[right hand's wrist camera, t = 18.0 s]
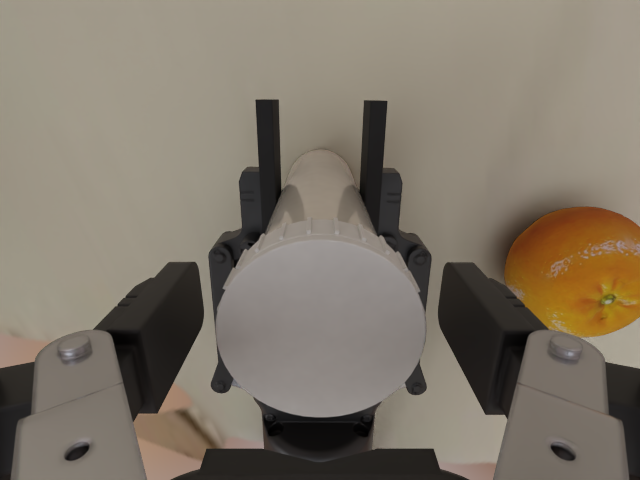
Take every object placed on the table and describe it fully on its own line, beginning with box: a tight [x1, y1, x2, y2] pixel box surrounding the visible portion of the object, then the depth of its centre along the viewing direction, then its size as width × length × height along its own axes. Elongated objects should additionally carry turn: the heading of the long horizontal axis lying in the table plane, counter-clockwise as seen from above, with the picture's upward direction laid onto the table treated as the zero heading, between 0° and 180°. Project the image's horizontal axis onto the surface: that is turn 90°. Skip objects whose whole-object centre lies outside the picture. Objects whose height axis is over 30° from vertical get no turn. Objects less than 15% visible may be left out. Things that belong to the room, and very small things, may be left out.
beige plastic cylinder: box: [265, 149, 377, 236], centre depth 18 cm, size 4×4×17 cm
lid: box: [216, 217, 426, 417], centre depth 10 cm, size 5×5×2 cm
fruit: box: [504, 207, 640, 338], centre depth 24 cm, size 8×8×8 cm
